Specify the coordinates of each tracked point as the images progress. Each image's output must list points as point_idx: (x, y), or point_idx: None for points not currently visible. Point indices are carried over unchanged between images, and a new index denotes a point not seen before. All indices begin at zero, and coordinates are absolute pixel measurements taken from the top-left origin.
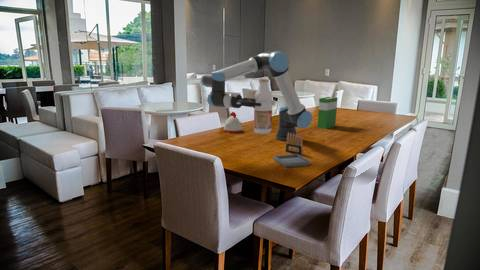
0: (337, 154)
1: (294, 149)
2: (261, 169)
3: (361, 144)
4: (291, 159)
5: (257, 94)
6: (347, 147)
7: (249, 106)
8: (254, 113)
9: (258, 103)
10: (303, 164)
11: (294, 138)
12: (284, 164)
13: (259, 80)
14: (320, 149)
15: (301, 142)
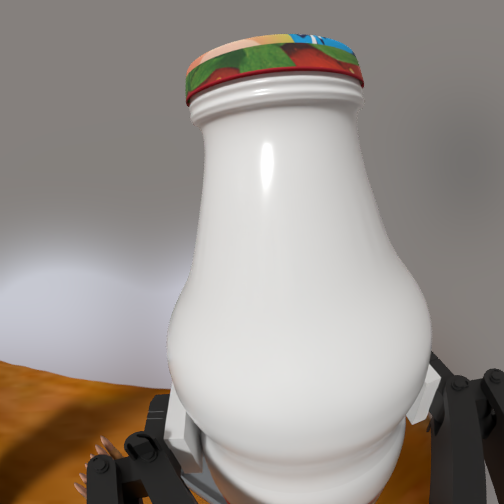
0: (106, 401)
1: None
2: (386, 490)
3: (23, 373)
4: None
5: (426, 304)
6: (45, 391)
7: (493, 417)
8: (377, 498)
9: (432, 353)
10: None
11: None
12: None
13: (358, 66)
14: (68, 438)
15: (119, 452)
